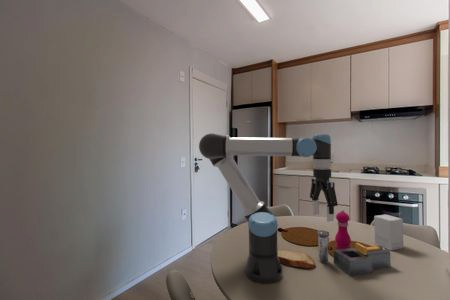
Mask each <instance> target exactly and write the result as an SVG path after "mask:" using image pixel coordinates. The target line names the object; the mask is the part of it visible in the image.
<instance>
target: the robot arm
mask: <svg viewBox="0 0 450 300" xmlns="http://www.w3.org/2000/svg"><path fill="white" fill-rule="evenodd" d="M198 149H199V152H200V154H201V155H202V156H203V157H204V158H206V159H208V160H209V161H210V162H211V164H212V166H213V167H216V168H218V170H219V171H220V174H221V175H222V176H223V178H224V179H225V181H226V183H227V184H228V186H229V187H230V190H231V191H232V192H233V194H234V196H235V198H236V199H237V200H238V201H237V202H239V204H240V206H241V207H242V209H243V217H244V218H245V220H246V222H247V227H248V256H247V259H246V263H245V266H244V270H245V272H244V273H245V276H246V277H247V278H248V279H249V280H252V281H253V282H255V283H258V284H273V283H274V284H275V283H277V282H279V281H280V280H281V279H282V278H283V268H282V264H281V263H280V261H279V258H278V251H279V250H278V229H279V228H278V226H279V224H278V219H277V217H276V216H275V215H274V213H273V212H272V211H271V209H269V208H268V206H267V205H266V203H265V201H262V200H259V198H258V196H257V194H256V193H255V191H254V190H253V188H252V186H251V185H250V183H249V181H248V180H247V178H246V177H245V174H243V172H242V170H241V168H240V167H239V166H238V164H237V162H236V161H235V159H234V156H244V157H245V156H247V157H248V156H249V157H250V156H253V157H254V156H256V157H257V156H259V157H260V156H261V157H302V158H310V157H311V156H312V167H313V170H312V173H313V174H312V175H313V176H312V177H314V178H311V187H310V192H309V198H310V199H311V200H312V214H313V215H320V201H319V200H320V199H319V198H320V194H321V192H323V195H324V197H325V200H326V203H327V205H326V222H334V220H335V219H334V214H335V207H338V206H339V205H338V199H337V194H336V190H335V189H336V188H335V184H336V183H335V182H334V181H330V178H332V169H331V168H332V141H331V136H330V134H328V133H326V134H325V133H324V134H323V133H322V134H320V133H319V134H313V135H312V137H311V138H310V137H231V136H230V135H229V134H217V133H211V132H210V133H206V134H205V135H204V136H202V137H201V138H200V140H199V143H198Z"/></svg>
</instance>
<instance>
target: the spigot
mask: <svg viewBox="0 0 450 300" xmlns="http://www.w3.org/2000/svg"><path fill="white" fill-rule="evenodd" d="M316 235H318V236H317V237H318V243H317V244H318V262H319V263H323V264H328V263H329V236H330V232H329V231H327V230H321V229H319V230H317V231H316Z"/></svg>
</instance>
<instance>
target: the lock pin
mask: <svg viewBox="0 0 450 300" xmlns="http://www.w3.org/2000/svg"><path fill="white" fill-rule="evenodd" d="M377 246H378V245H375V246H374V247H373V246H365V245H363V244H361V243H359V242H355V250H357V251H358V252H360V253H362V254H363V255H367V251H376V250H380V248H379V247H377Z"/></svg>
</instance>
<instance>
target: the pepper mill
mask: <svg viewBox="0 0 450 300" xmlns="http://www.w3.org/2000/svg"><path fill="white" fill-rule="evenodd" d="M335 219H336V220H337V221H336V222H337V224H336V225H337V226H338V230H337V232H336V234H335V237H334V241H335V243H336V244H335V246H336V247H335V248H336V250H338V249H348V248H351V244H352V238H351V236H350V234H349V232H348V227H349V221H350V216H349V214H348V213H347V212H345V209H343V208H342V209H340V212H338V213H336V215H335Z"/></svg>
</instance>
